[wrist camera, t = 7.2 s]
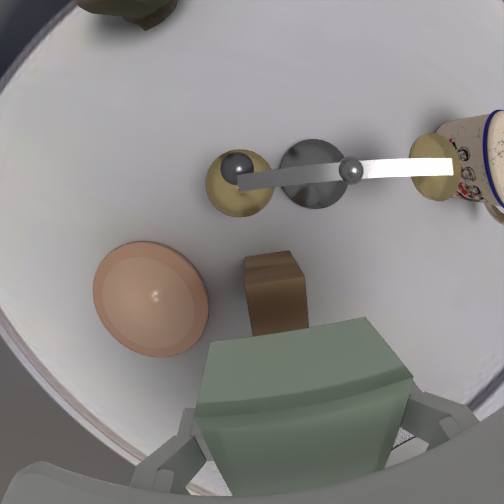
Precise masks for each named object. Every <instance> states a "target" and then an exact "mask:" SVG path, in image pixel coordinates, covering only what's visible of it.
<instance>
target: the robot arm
mask: <svg viewBox="0 0 504 504" xmlns="http://www.w3.org/2000/svg"><path fill="white" fill-rule="evenodd" d="M195 410H196V409H193V408H185V410H184V411H183V414H182V418H181V422H180V426H179V430H178V434H177V436H173V437H172V438H171V439H169V440H168V441H167V442H166V443H165V444H163V445H162V446H161V447H160V448H158V449H157V450H156V451H155V452H153V453H152V454H151V455H150V456H148V457H147V458H146V459H145V460H143V461H142V462H141V463H139V464H138V465H137V467H136V470H135V473H134V475H133V479H132V481H131V484H130V487H126V486H121V485H117V484H113V483H109V482H105V481H101V480H97V479H94V478H90V477H87V476H83V475H80V474H77V473H74V472H71V471H68V470H66V469H63V468H60V467H57V466H55V465H52V464H50V463H47V462H44V461H39V462H36V463H34V464H32V465H30V466H28V467H26V468H24V469H22V470H20V471H19V472H17V474H16V475H15V476H14V478H13V480H12V482H11V483H10V485H9V487H8V489H7V492H6V494H5V496H4V498H3V501H2V503H1V504H504V406H502V407H501V408H500V409H498V410H497V411H495V412H494V413H493V414H491V415H490V416H488V417H487V418H485V419H484V420H482V421H481V422H479V420H478V419H477V418H476V417H475V415H474V414H473V413H472V412H471V410H470V409H469V408H468V407H467V406H466V405H463V404H460V403H457V402H454V401H451V400H448V399H445V398H442V397H439V396H436V395H433V394H430V393H428V392H423V393H422V392H421V390H420V389H419V388H418V386H417V385H416V384H415V382H414V381H412V385H411V389H410V393H409V397H408V401H407V404H406V408H405V411H404V415H403V418H402V421H401V424H400V427H401V428H403V429H404V430H406V431H408V432H409V433H411V434H413V435H414V436H416V438H414V439H411V440H409V441H407V442H405V443H404V444H402V445H400V446H398V447H397V448H395V449H394V450H392V451H391V453H390V455H389V458H388V460H387V463H386V465H385V468H384V469H382V470H379V471H376V472H373V473H370V474H366V475H363V476H360V477H356V478H353V479H349V480H345V481H341V482H337V483H333V484H329V485H324V486H319V487H314V488H308V489H303V490H296V491H290V492H282V493H273V494H262V495H248V496H197V495H191V494H190V493H189V492H188V490H187V489H186V488H185V486H186V485H187V484H188V483H189V482H190V481H191V479H192V478H193V477H194V476H195V475H196V474H197V472H198V471H199V470H200V469H201V468H202V466H203V465H204V464H205V463H206V461H214V459H213V457H212V455H211V453H210V451H209V449H208V447H207V445H206V443H205V441H204V439H203V436H202V434H201V432H200V430H199V428H198V425H197V423H196V421H195V418H194V415H195Z"/></svg>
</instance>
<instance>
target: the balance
mask: <svg viewBox="0 0 504 504" xmlns="http://www.w3.org/2000/svg"><path fill="white" fill-rule="evenodd" d="M400 176H411V179H412V181H413V183H414V185H415V187H416V189H417V190H418V191H419V192H420V193H421V194H422V195H423V196H424V197H426V198H428V199H430V200H435V201H444V200H447V199H449V198H450V197H451V196H452V195H453V194H454V193H455V192H456V190H457V188H458V186H459V183H460V177H461V165H460V160H459V157H458V154H457V152H456V150H455V148H454V146H453V145H452V143H451V142H450V141H449V140H448V139H447V138H446V137H444V136H442V135H440V134H438V133H429V134H424V135H421V136H420V137H418V138H417V139H416V140H415V142H414V143H413V145H412V147H411V149H410V153H409V159H383V160H365V161H360V160H359V159H357V158H355V157H345V158H344V156H343V155H342V153H341V152H340V151H339V150H338V149H337V148H336V147H335V146H333V145H332V144H330V143H328V142H326V141H323V140H318V139H309V140H305V141H302V142H299V143H297V144H296V145H294V146H293V147H292V148H291V149H289V151H288V152H287V153H286V154H285V156H284V158H283V160H282V162H281V166H280V169H274V170H271V168H270V166H269V164H268V163H267V162H266V161H265V160H264V159H263V158H262V157H261V156H260V155H258V154H256V153H254V152H252V151H248V150H232V151H229V152H226V153H224V154H222V155H221V156H219V157H218V158H217V159H216V160H215V161H214V162H213V163H212V165H211V166H210V168H209V170H208V173H207V176H206V191H207V194H208V197H209V199H210V201H211V202H212V204H213V205H214V206H215V207H216V208H217V209H218V210H219V211H221V212H222V213H224V214H226V215H229V216H233V217H247V216H251V215H254V214H256V213H257V212H259V211H260V210H262V209H263V208H264V207H265V206H266V205H267V204H268V202H269V201H270V199H271V197H272V194H273V191H274V187H280V186H283V188H284V190H285V192H286V194H287V195H288V196H289V197H290V198H291V199H292V200H293V201H295V202H296V203H298V204H300V205H302V206H304V207H307V208H312V209H321V208H325V207H328V206H330V205H332V204H334V203H335V202H337V201H338V200H339V199H340V198H341V197H342V195H343V194H344V192H345V190H346V188H347V185H348V184H350V185H351V184H356V183H358V182H360V181H361V180H362V179H364V178H380V177H400Z"/></svg>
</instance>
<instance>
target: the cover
mask: <svg viewBox="0 0 504 504" xmlns="http://www.w3.org/2000/svg"><path fill="white" fill-rule="evenodd" d="M412 381H413V375H412V374H411V373H410V371H409V370H408V369H407V368H406V366H405V365H404V364H403V363H402V361H401V360H400V359H399V357H398V356H397V355H396V354H395V352H394V351H393V350H392V349H391V347H390V346H389V345H388V344H387V343H386V341H385V340H384V339H383V338H382V336H381V335H380V334H379V333H378V331H377V330H376V329H375V328H374V327H373V325H372V324H371V323H370V322H369V321H368V319H367V318H366V317H361V318H356V319H352V320H347V321H342V322H337V323H332V324H327V325H322V326H317V327H311V328H306V329H300V330H294V331H288V332H282V333H275V334H269V335H262V336H255V337H247V338H239V339H231V340H222V341H212V342H210V345H209V349H208V354H207V359H206V363H205V368H204V372H203V377H202V382H201V386H200V391H199V396H198V401H197V405H196V410H195V415H194V418H195V421H196V423H197V425H198V428H199V430H200V432H201V434H202V436H203V439H204V441H205V443H206V445H207V447H208V449H209V451H210V453H211V455H212V457H213V459H214V461H215V463H216V465H217V467H218V469H219V471H220V473H221V475H222V477H223V479H224V480H225V482H226V484H227V486H228V488H229V489H230V491H231V493H232V495H233V496H248V495H262V494H273V493H282V492H290V491H296V490H303V489H308V488H314V487H319V486H324V485H329V484H333V483H337V482H341V481H345V480H349V479H353V478H356V477H360V476H363V475H366V474H370V473H373V472H376V471H379V470H382V469H384V468H385V465H386V463H387V460H388V458H389V455H390V453H391V450H392V447H393V445H394V442H395V439H396V436H397V433H398V430H399V427H400V424H401V421H402V418H403V415H404V411H405V408H406V404H407V401H408V397H409V393H410V389H411V385H412Z"/></svg>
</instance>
